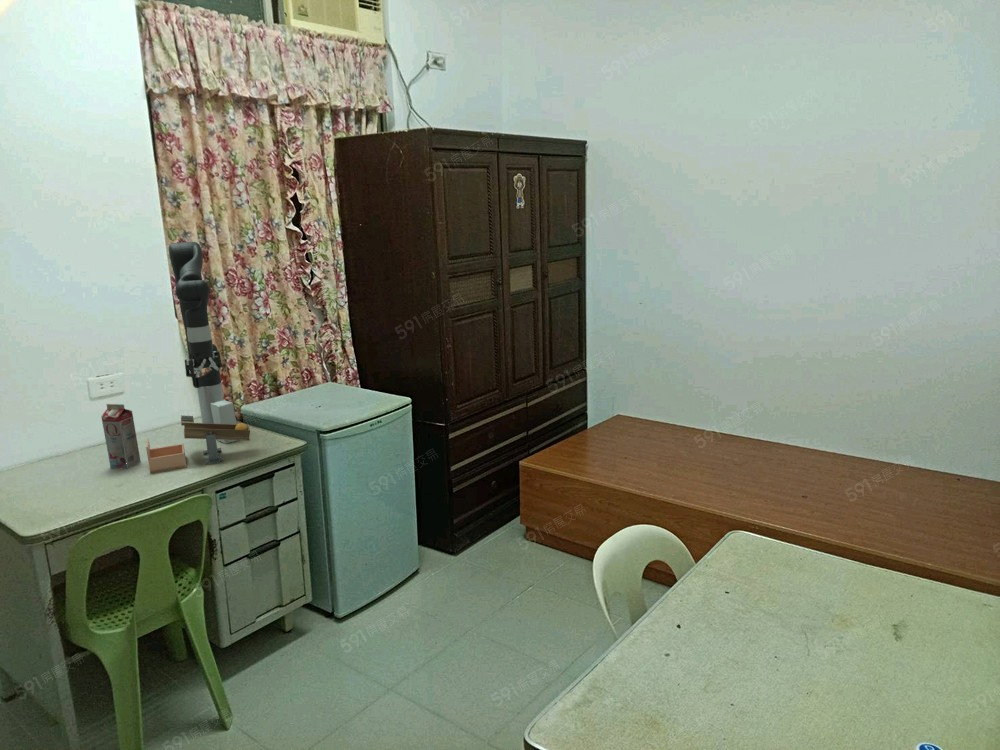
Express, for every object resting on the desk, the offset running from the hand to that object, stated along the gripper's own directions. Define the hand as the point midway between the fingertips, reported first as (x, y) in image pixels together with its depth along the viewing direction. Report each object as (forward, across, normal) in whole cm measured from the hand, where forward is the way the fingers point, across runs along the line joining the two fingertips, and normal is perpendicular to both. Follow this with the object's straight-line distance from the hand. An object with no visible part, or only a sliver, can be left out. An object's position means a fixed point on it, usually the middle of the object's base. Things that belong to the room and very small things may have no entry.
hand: (206, 384), depth 244 cm
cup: (+26, +14, -9) cm, 30 cm away
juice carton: (+26, +18, -24) cm, 40 cm away
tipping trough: (+18, -1, -1) cm, 19 cm away
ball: (+17, -5, +8) cm, 20 cm away
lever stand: (+26, +3, +1) cm, 26 cm away
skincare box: (+27, -14, -8) cm, 31 cm away
